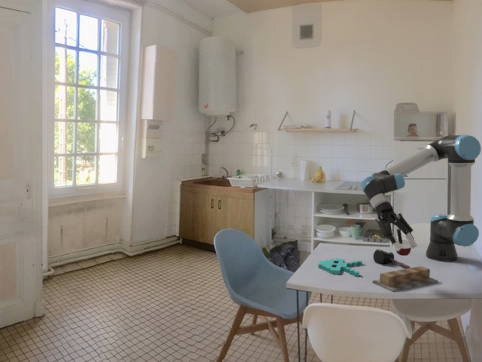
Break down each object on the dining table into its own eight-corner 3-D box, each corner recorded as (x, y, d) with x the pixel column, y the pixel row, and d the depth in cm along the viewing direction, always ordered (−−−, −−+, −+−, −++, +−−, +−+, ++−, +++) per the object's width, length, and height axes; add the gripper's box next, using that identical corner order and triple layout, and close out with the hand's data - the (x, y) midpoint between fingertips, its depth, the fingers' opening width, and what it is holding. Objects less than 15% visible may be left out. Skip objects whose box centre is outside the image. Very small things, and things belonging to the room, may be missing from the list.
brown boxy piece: (416, 274, 188) (416, 263, 188) (437, 282, 177) (438, 271, 177) (372, 282, 178) (372, 271, 177) (392, 291, 167) (392, 280, 166)
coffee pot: (371, 260, 209) (383, 261, 212) (396, 275, 193) (409, 275, 196) (374, 247, 208) (387, 247, 211) (400, 261, 191) (413, 261, 195)
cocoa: (405, 252, 180) (406, 226, 180) (416, 255, 175) (417, 228, 174) (388, 254, 177) (389, 227, 176) (398, 257, 171) (399, 229, 170)
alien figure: (362, 264, 205) (322, 261, 212) (362, 260, 204) (322, 257, 212) (358, 277, 186) (315, 272, 193) (358, 272, 186) (315, 268, 193)
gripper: (394, 208, 192) (420, 249, 179) (359, 212, 184) (384, 255, 171) (403, 199, 187) (430, 240, 174) (367, 202, 179) (393, 246, 166)
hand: (407, 248), depth 172 cm, fingers closed on cocoa, 8 cm apart
